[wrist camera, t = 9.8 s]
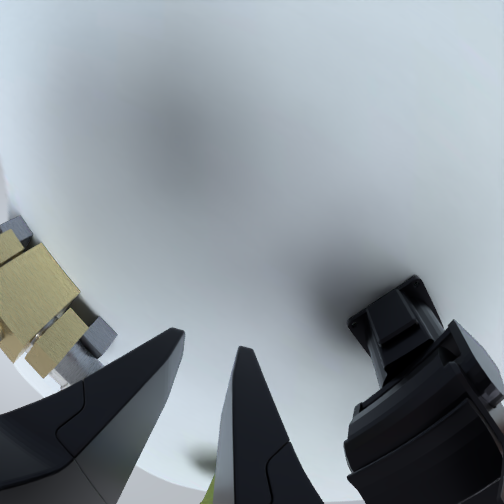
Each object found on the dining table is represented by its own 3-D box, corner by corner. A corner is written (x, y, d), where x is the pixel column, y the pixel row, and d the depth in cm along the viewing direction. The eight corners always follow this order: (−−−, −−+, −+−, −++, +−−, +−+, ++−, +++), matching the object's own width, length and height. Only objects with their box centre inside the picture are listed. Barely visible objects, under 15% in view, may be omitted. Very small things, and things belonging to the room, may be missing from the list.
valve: (125, 339, 25) (76, 411, 16) (103, 356, 26) (59, 419, 18) (19, 211, 21) (-53, 247, 12) (7, 239, 22) (-56, 277, 14)
